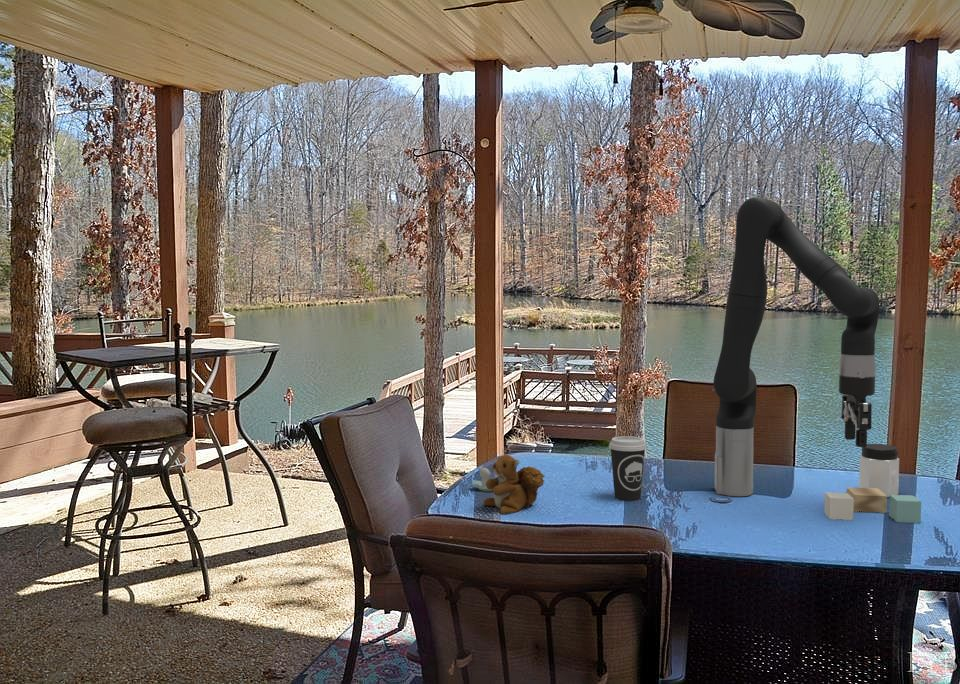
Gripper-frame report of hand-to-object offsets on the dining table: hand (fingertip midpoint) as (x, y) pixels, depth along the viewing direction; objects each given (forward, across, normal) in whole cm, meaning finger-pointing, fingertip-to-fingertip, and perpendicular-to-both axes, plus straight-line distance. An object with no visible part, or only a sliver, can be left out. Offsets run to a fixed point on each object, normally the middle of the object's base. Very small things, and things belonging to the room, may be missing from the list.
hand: (855, 443), depth 179 cm
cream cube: (+17, +4, -4) cm, 18 cm away
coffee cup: (+17, -7, -52) cm, 55 cm away
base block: (+16, -4, +4) cm, 17 cm away
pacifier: (+17, -10, -89) cm, 91 cm away
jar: (+17, -19, +11) cm, 28 cm away
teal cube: (+17, +4, +10) cm, 20 cm away
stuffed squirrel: (+17, +5, -80) cm, 81 cm away
